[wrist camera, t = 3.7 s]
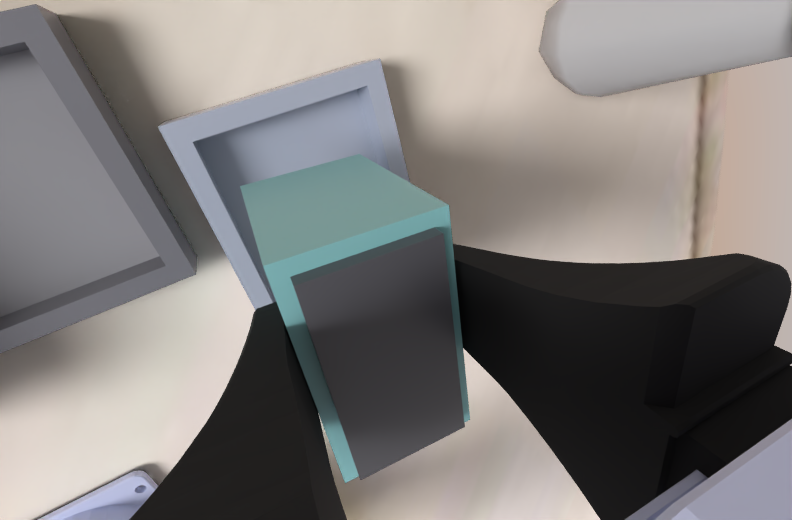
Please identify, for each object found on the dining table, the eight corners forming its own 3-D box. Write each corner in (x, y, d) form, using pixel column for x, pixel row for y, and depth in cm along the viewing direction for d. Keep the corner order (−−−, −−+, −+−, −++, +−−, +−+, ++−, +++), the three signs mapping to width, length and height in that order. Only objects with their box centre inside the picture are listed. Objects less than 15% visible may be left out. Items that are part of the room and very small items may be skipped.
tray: (419, 275, 23) (436, 291, 21) (278, 342, 21) (284, 365, 19) (362, 61, 18) (379, 58, 16) (163, 121, 16) (157, 126, 14)
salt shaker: (556, 118, 23) (871, 148, 12) (506, 36, 20) (868, -21, 9) (623, 37, 23) (1004, -5, 12) (583, -58, 20) (1048, -232, 9)
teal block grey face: (359, 153, 13) (459, 210, 8) (392, 316, 17) (477, 429, 12) (239, 186, 12) (266, 275, 7) (301, 352, 16) (349, 496, 11)
